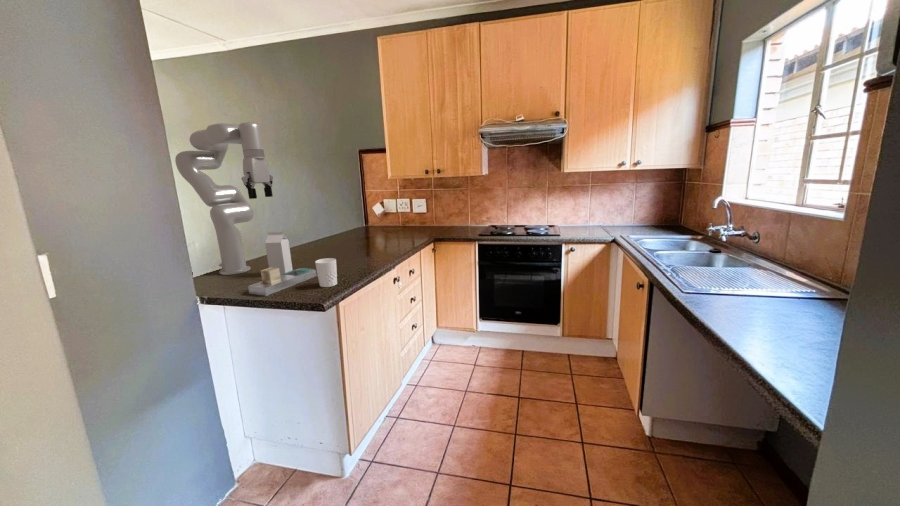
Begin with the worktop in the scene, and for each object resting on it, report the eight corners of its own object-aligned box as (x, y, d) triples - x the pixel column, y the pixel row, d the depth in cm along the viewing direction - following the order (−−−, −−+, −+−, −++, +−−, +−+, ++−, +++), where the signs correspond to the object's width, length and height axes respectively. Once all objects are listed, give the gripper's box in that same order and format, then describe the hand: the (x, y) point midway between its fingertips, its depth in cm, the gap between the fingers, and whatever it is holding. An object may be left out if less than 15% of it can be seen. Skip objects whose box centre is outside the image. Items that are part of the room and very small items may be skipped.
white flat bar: (266, 295, 134) (264, 287, 133) (249, 293, 138) (247, 285, 137) (316, 276, 157) (315, 269, 157) (300, 274, 161) (300, 267, 160)
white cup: (342, 282, 148) (339, 258, 145) (331, 288, 140) (328, 263, 138) (325, 281, 150) (322, 257, 147) (313, 287, 142) (310, 262, 140)
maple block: (263, 290, 141) (260, 270, 139) (273, 286, 145) (270, 267, 143) (272, 291, 139) (269, 271, 137) (282, 287, 143) (279, 268, 141)
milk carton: (285, 275, 160) (279, 233, 156) (270, 275, 161) (263, 233, 156) (292, 271, 167) (287, 230, 163) (277, 271, 168) (271, 230, 163)
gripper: (260, 156, 156) (267, 196, 159) (229, 155, 139) (238, 199, 143) (276, 155, 154) (282, 195, 158) (246, 153, 138) (254, 198, 141)
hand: (261, 197), depth 150 cm, fingers open, 9 cm apart
